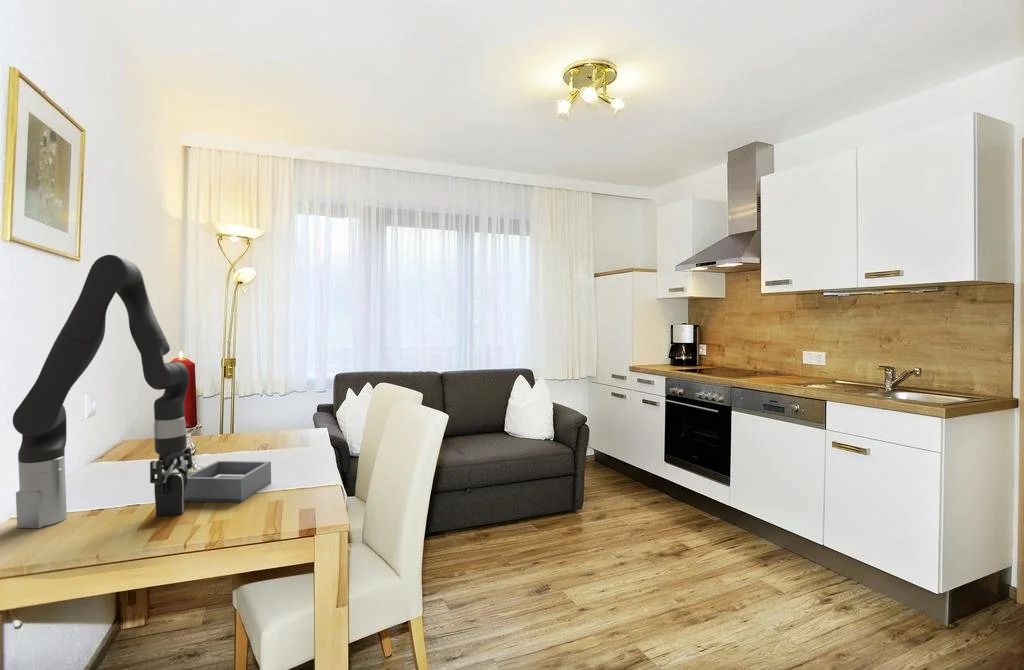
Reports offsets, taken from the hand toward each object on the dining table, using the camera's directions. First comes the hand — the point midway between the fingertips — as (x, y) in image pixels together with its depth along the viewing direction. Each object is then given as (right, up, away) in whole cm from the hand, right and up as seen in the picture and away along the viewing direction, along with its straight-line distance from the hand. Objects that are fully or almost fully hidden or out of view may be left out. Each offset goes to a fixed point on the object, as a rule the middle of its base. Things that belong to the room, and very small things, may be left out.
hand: (173, 490), depth 147 cm
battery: (0, -6, 0) cm, 6 cm away
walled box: (+6, -5, +17) cm, 19 cm away
